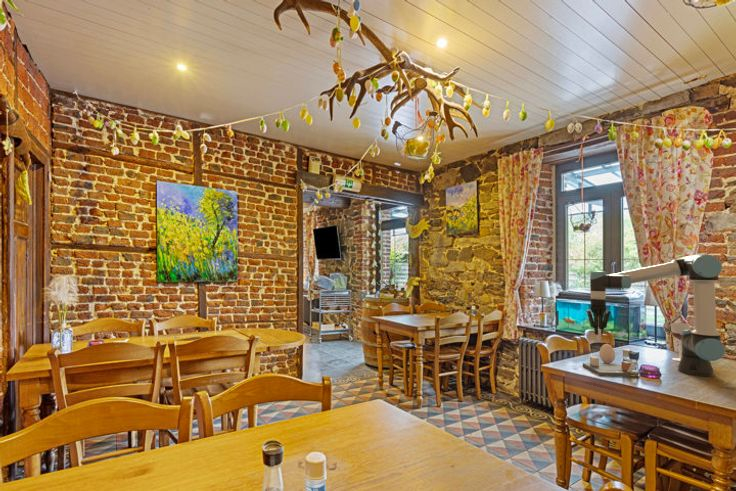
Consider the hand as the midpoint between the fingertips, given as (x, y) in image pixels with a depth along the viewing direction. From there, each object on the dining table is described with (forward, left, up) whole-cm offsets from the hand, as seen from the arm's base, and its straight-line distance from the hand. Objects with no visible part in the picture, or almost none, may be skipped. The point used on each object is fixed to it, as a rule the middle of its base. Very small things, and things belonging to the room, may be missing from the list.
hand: (598, 340), depth 222 cm
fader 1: (+2, 0, -14) cm, 14 cm away
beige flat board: (-3, +4, -16) cm, 17 cm away
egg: (-11, -13, -16) cm, 23 cm away
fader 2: (-10, +9, -14) cm, 19 cm away
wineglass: (-62, -26, -16) cm, 69 cm away
